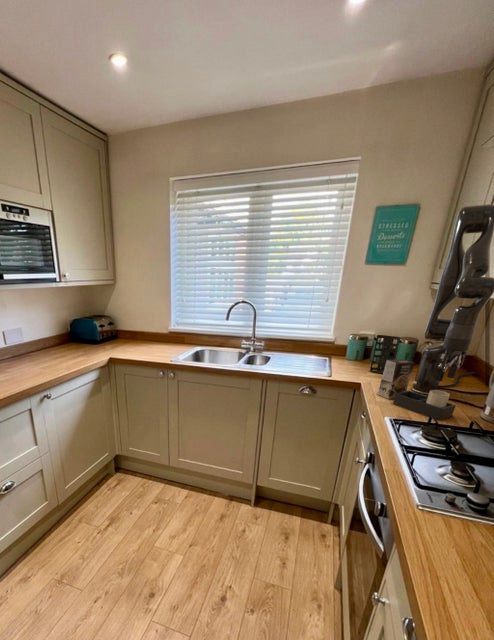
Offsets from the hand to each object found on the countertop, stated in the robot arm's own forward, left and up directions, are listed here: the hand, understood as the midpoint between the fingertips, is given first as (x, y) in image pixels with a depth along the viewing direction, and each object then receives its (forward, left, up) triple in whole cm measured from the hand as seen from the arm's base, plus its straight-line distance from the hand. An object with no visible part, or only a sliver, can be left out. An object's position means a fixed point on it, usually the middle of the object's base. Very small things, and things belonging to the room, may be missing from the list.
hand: (444, 379), depth 124 cm
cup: (0, 0, -14) cm, 13 cm away
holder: (-36, -45, -15) cm, 59 cm away
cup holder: (0, -4, -14) cm, 15 cm away
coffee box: (-4, -19, -15) cm, 24 cm away
